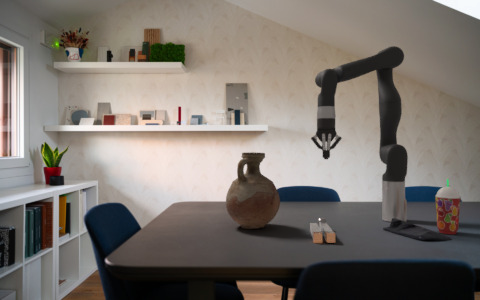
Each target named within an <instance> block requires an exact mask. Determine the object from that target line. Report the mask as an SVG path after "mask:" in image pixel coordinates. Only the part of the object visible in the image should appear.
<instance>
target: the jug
mask: <svg viewBox="0 0 480 300" xmlns="http://www.w3.org/2000/svg"><path fill="white" fill-rule="evenodd" d="M241 158H242V159H240V160H239V161H238V163H237V169H236V172H237V173H236V174H237V178H236V179H234V180H232V182H231V184H230V185H229V188H228V190H227V193H226V196H225V197H226V198H225V207H226V211H227V213H228V215H229V216H230V217H231V219H232V220H233V221H234V222H235V223H237V224H238V225H240V228H241V229H245V230H250V229H260V228H264V227H265V226H266V225H268V224H270V222H271V221H273V220H274V219H275V217H276V216H277V214H278V212H279V210H280V207H281V206H280V205H281V198H280V195H279V192H278V189H277V186H275V184H274V182H273V181H272V180H271V179H269V178H268V177H267V176H265V175H264V174H262V173H261V170H260V165H261V163H263V160H264V159H265V158H266V153H265V152H253V151H251V152H242V153H241ZM245 165H246V171H245V172H244V170H245Z"/></svg>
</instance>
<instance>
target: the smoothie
mask: <svg viewBox="0 0 480 300" xmlns="http://www.w3.org/2000/svg"><path fill="white" fill-rule="evenodd" d="M449 180H450V179H448V178H446V186H443V187H441V188H439V189H438V191H437V192H436V194H435V195H434V196H435V197H434V198H435V209H436V211H435V213H436V227H437V230H438V233H440V234H443V235H456V234H457V232H458V231H459V226H460V225H459V222H460V214H461V213H460V211H461V209H460V208H461V198H462V196H460V194H459V191H457V189H456V188H454V187H452V186H449V185H450V181H449Z"/></svg>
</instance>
